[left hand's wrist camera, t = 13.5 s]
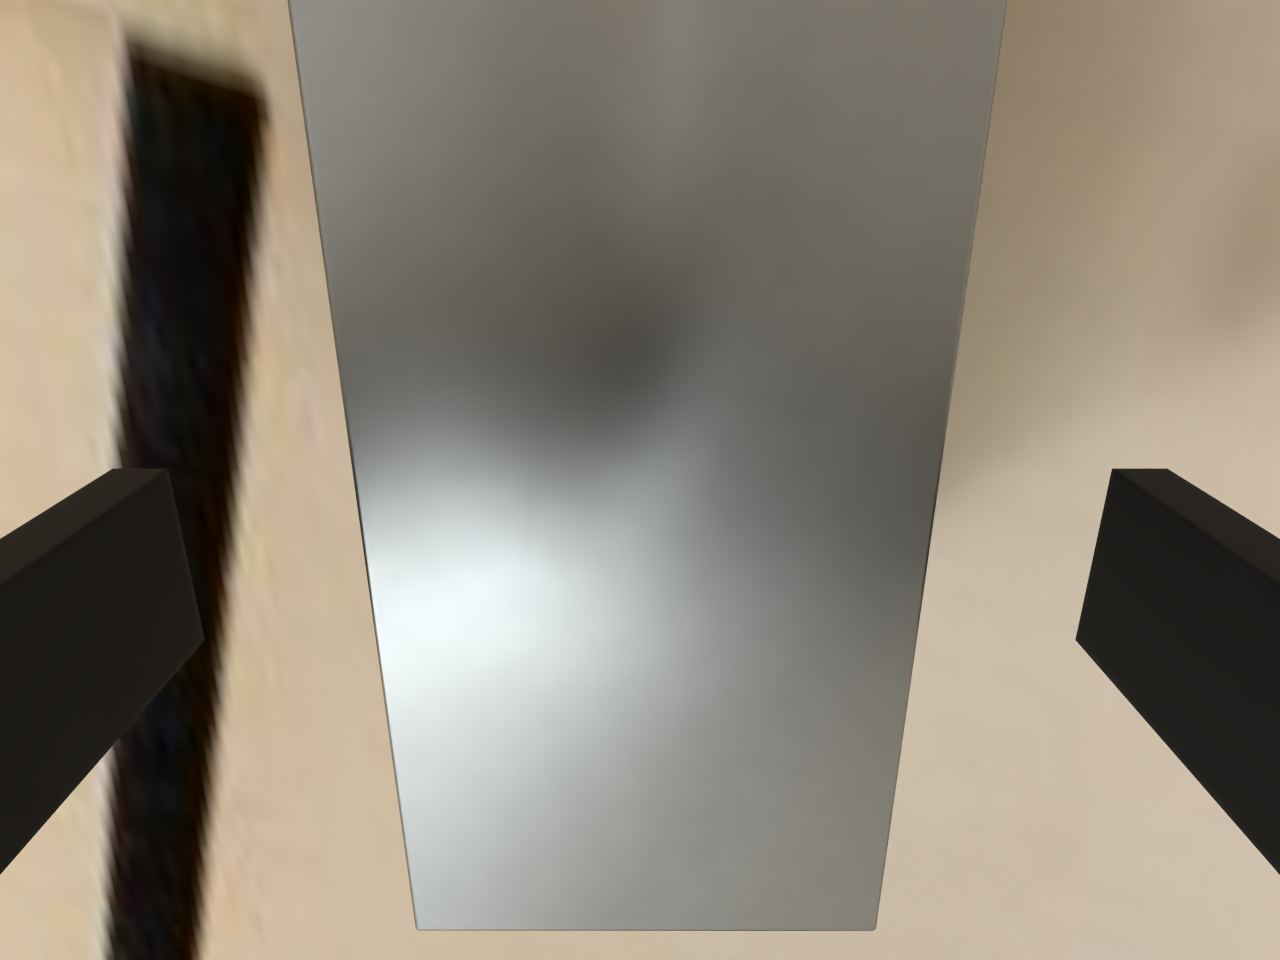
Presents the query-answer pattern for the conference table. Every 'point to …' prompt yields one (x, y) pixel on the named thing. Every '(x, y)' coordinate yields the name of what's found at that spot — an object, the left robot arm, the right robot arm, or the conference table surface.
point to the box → (646, 431)
